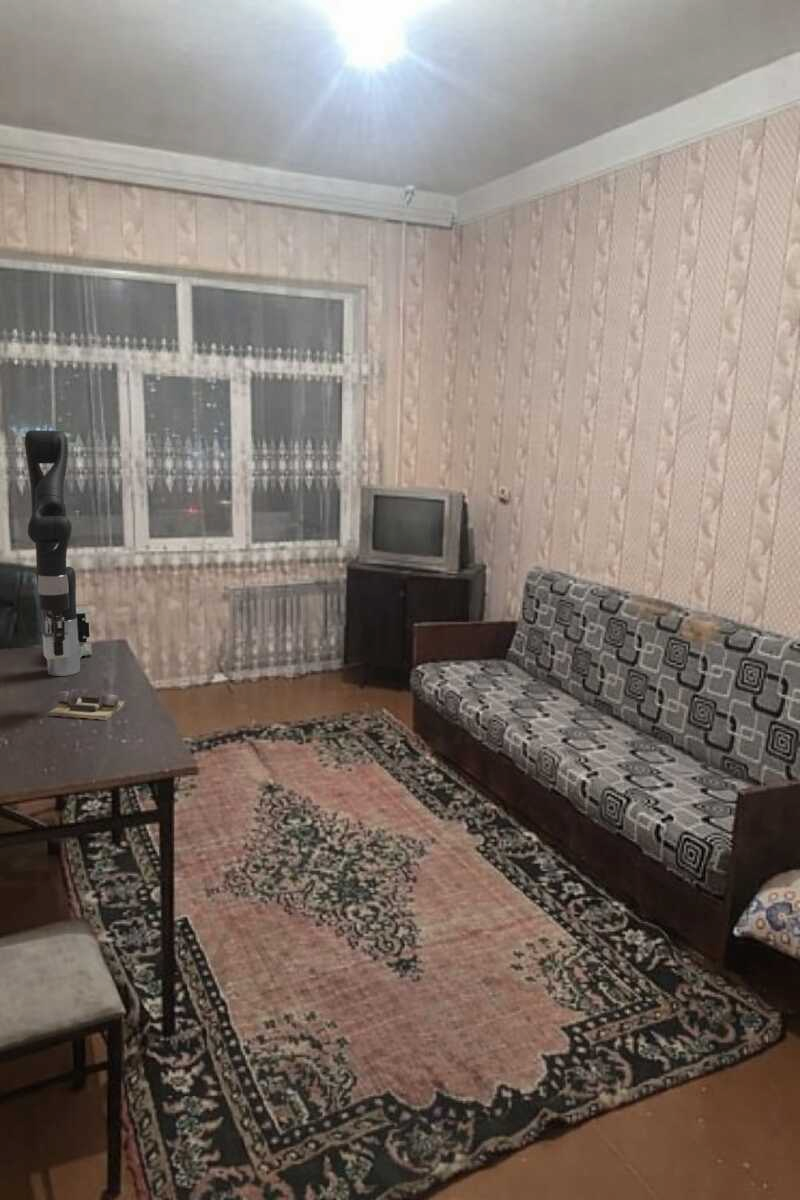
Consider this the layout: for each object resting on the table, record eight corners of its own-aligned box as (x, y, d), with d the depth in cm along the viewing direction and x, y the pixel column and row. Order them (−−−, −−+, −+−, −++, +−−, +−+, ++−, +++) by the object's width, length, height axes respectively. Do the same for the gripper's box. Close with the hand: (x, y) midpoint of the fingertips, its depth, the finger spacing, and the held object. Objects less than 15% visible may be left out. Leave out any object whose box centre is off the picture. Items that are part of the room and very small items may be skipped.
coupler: (67, 652, 229) (66, 631, 228) (70, 656, 226) (69, 635, 224) (43, 655, 226) (42, 633, 225) (46, 659, 222) (45, 637, 221)
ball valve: (91, 663, 271) (89, 609, 267) (63, 665, 268) (60, 611, 264) (93, 648, 287) (90, 598, 283) (66, 650, 285) (63, 599, 281)
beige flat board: (72, 701, 234) (70, 682, 233) (126, 705, 233) (125, 685, 231) (49, 716, 223) (48, 695, 222) (106, 720, 221) (105, 699, 220)
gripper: (73, 594, 218) (76, 657, 222) (63, 585, 230) (67, 645, 234) (42, 597, 215) (46, 661, 218) (34, 587, 226) (38, 648, 230)
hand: (57, 652), depth 226 cm, fingers closed on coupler, 4 cm apart
